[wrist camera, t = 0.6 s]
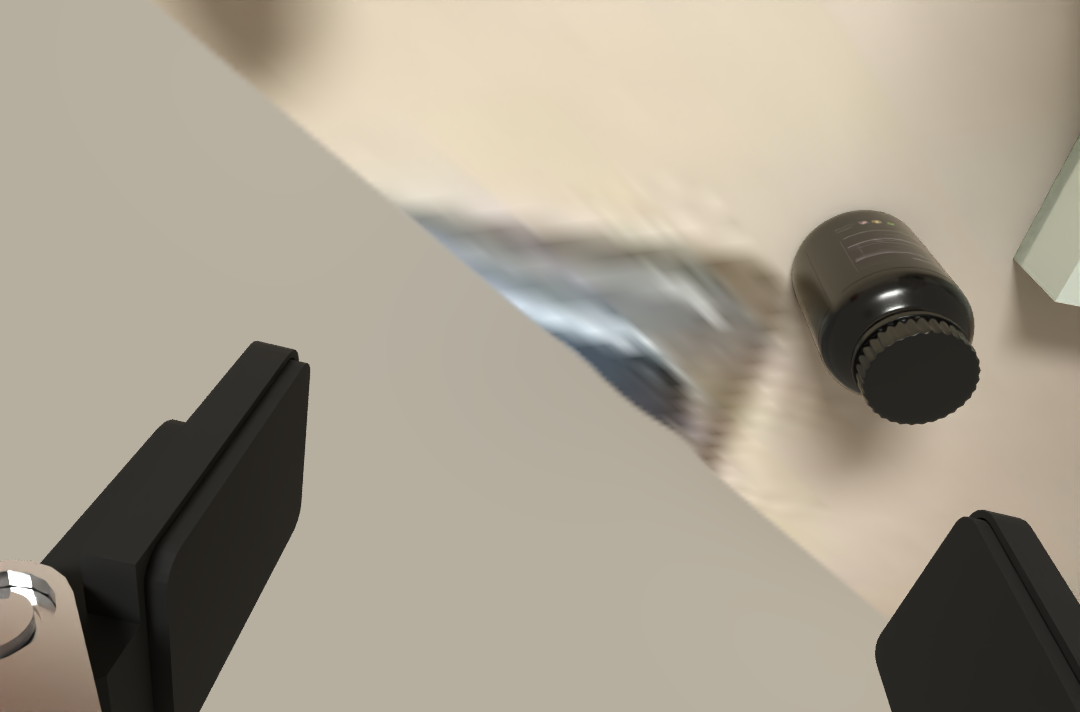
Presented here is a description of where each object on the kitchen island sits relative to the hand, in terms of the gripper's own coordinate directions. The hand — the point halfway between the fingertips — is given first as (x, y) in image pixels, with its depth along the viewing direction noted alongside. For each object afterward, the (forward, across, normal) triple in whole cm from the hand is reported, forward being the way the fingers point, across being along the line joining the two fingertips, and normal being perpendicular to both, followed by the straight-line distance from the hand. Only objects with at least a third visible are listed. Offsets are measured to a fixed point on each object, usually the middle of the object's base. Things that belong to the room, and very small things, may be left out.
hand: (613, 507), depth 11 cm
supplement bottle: (+33, -15, +7) cm, 37 cm away
